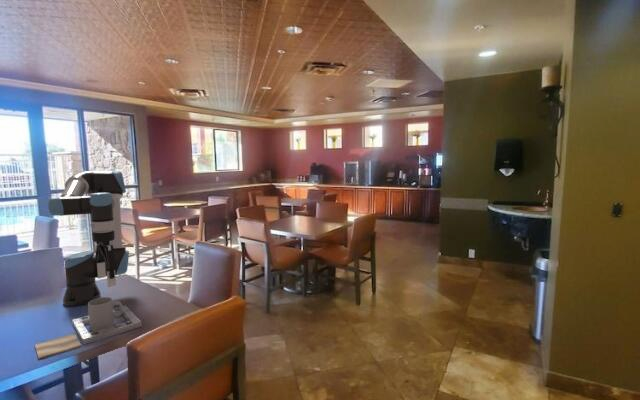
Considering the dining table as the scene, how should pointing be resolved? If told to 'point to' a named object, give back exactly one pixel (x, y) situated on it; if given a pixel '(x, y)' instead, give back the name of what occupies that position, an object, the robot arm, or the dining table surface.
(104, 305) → the mug
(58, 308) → the dining table surface
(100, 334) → the grey square frame
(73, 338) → the coaster
